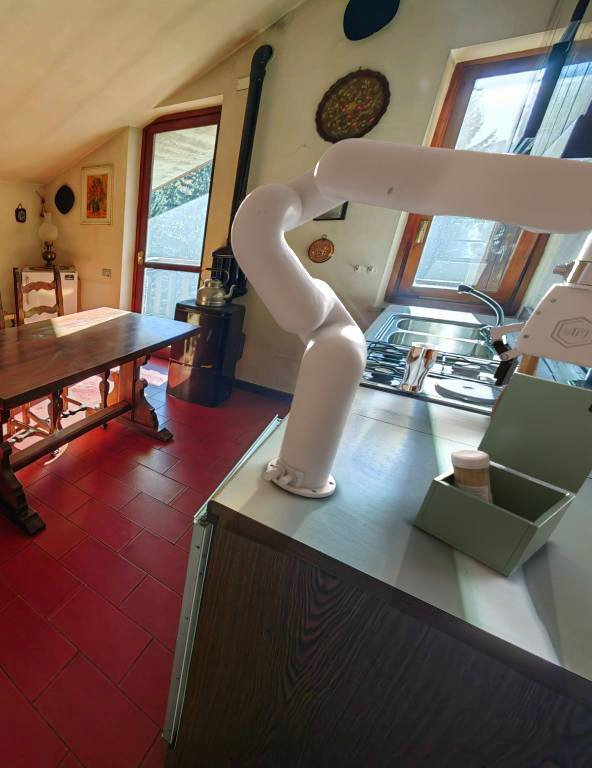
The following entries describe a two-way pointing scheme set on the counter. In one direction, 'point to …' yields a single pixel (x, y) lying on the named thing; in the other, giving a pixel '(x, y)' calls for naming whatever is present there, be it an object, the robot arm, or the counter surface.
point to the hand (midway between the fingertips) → (544, 396)
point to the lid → (543, 431)
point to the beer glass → (418, 366)
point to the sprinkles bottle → (472, 473)
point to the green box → (494, 517)
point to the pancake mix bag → (525, 367)
